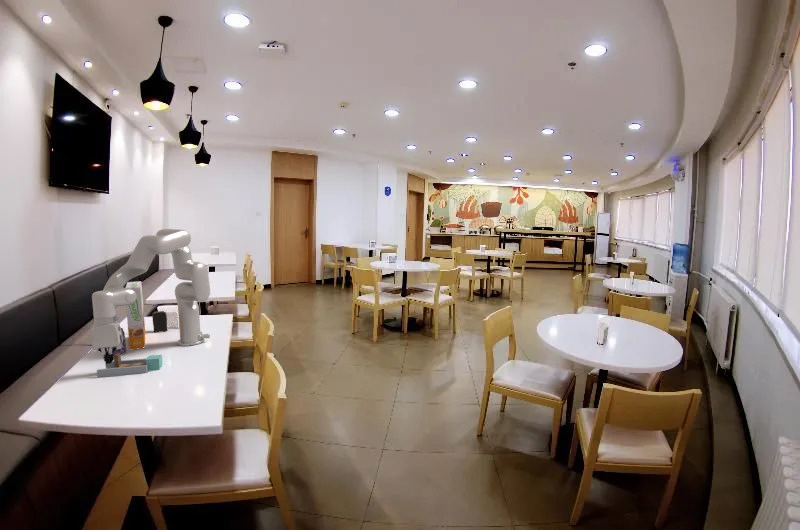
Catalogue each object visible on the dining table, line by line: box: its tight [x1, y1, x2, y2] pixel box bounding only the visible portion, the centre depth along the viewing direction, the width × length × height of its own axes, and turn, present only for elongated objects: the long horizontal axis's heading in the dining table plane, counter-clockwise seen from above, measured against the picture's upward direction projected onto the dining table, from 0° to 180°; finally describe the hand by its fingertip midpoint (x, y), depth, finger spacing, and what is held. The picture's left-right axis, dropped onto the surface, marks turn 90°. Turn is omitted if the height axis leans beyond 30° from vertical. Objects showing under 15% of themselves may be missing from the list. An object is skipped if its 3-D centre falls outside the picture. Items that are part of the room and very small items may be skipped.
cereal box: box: [125, 280, 146, 350], centre depth 215 cm, size 22×6×30 cm, turn 30°
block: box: [146, 354, 163, 372], centre depth 183 cm, size 5×5×5 cm
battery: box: [151, 310, 168, 333], centre depth 236 cm, size 7×4×11 cm, turn 119°
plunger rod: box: [113, 353, 146, 368], centre depth 180 cm, size 12×3×7 cm, turn 106°
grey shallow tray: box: [96, 357, 149, 378], centre depth 180 cm, size 18×10×3 cm, turn 106°
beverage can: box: [107, 327, 127, 357], centre depth 199 cm, size 7×7×12 cm
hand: (109, 362), depth 178 cm, fingers closed
